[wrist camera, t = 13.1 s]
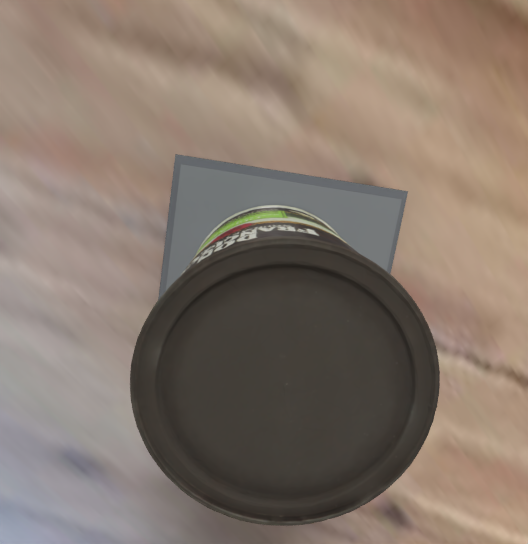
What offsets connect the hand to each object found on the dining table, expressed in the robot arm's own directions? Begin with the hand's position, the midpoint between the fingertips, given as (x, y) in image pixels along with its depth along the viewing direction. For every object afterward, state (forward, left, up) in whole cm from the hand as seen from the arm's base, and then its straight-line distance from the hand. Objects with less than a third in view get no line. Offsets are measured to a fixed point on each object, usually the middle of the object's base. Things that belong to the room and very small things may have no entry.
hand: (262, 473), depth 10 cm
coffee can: (+1, -1, -21) cm, 21 cm away
